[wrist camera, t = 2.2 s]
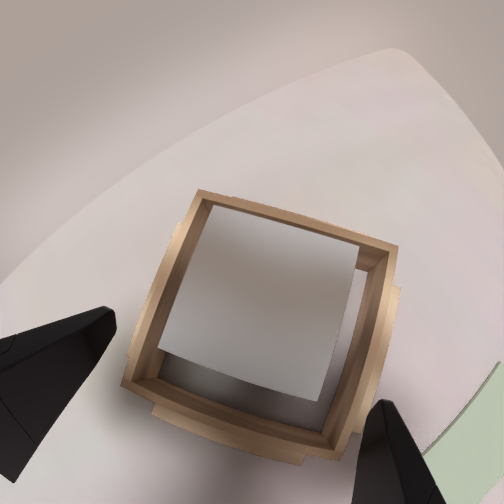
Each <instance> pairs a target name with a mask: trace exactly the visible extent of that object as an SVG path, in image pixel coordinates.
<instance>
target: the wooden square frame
mask: <svg viewBox="0 0 504 504" xmlns="http://www.w3.org/2000/svg"><path fill="white" fill-rule="evenodd" d="M214 205H216V206H220V207H224V208H228V209H232V210H235V211H239V212H243V213H246V214H250V215H254V216H257V217H261V218H265V219H268V220H272V221H275V222H279V223H283V224H286V225H290V226H293V227H297V228H300V229H303V230H307V231H310V232H314V233H317V234H321V235H324V236H327V237H331V238H334V239H337V240H341V241H344V242H347V243H350V244H354V245H357V246H359V251H358V256H357V261H356V265H355V268H357V269H360V270H363V271H367V272H368V275H367V280H366V285H365V289H364V294H363V298H362V302H361V307H360V311H359V315H358V319H357V323H356V327H355V330H354V334H353V338H352V342H351V345H350V349H349V352H348V356H347V359H346V362H345V366H344V369H343V372H342V375H341V379H340V382H339V385H338V388H337V391H336V394H335V397H334V400H333V403H332V405H331V408H330V411H329V414H328V417H327V419H326V422H325V425H324V427H323V430H322V433H319V432H315V431H310V430H306V429H302V428H298V427H294V426H290V425H286V424H283V423H279V422H275V421H272V420H268V419H265V418H262V417H258V416H255V415H252V414H249V413H246V412H243V411H240V410H237V409H234V408H231V407H228V406H225V405H222V404H219V403H217V402H214V401H211V400H209V399H206V398H203V397H201V396H198V395H196V394H193V393H191V392H188V391H186V390H183V389H181V388H179V387H176V386H174V385H172V384H169V383H167V382H165V381H163V380H160V379H158V378H157V377H158V374H159V371H160V368H161V365H162V362H163V360H164V357H165V354H166V351H164V350H162V349H160V348H158V345H159V342H160V339H161V336H162V334H163V331H164V328H165V325H166V323H167V320H168V317H169V315H170V312H171V309H172V307H173V304H174V301H175V299H176V296H177V293H178V291H179V288H180V286H181V283H182V281H183V278H184V276H185V273H186V270H187V268H188V265H189V263H190V260H191V258H192V256H193V253H194V251H195V248H196V246H197V243H198V241H199V238H200V236H201V234H202V231H203V229H204V227H205V224H206V222H207V219H208V217H209V215H210V212H211V210H212V208H213V206H214ZM397 253H398V246H397V245H393V244H390V243H387V242H384V241H381V240H378V239H375V238H372V237H369V235H366V234H363V233H360V232H357V231H354V230H350V229H347V228H344V227H340V226H337V225H334V224H331V223H327V222H324V221H320V220H317V219H314V218H310V217H307V216H303V215H300V214H296V213H293V212H289V211H285V210H282V209H278V208H275V207H271V206H267V205H263V204H260V203H256V202H252V201H248V200H244V199H241V198H237V197H228V196H224V195H220V194H216V193H212V192H208V191H204V190H200V189H198V191H197V193H196V195H195V197H194V199H193V201H192V203H191V206H190V208H189V210H188V212H187V214H186V216H185V219H184V221H183V223H180V222H179V223H178V225H177V227H176V229H175V231H174V234H173V236H172V238H171V241H170V243H169V245H168V247H167V250H166V252H165V255H164V257H163V259H162V262H161V264H160V266H159V269H158V271H157V274H156V276H155V279H154V281H153V284H152V286H151V289H150V291H149V294H148V296H147V299H146V301H145V304H144V307H143V309H142V312H141V315H140V317H139V320H138V323H137V325H136V328H135V331H134V334H133V336H132V339H131V342H130V345H129V348H128V351H127V354H126V356H127V357H129V361H128V364H127V367H126V370H125V373H124V376H123V379H122V382H121V385H120V386H122V387H124V388H126V389H128V390H130V391H132V392H134V393H136V394H137V395H139V396H141V397H144V398H146V399H148V400H150V401H152V402H154V403H155V405H154V408H153V411H152V414H151V415H153V416H155V417H157V418H160V419H162V420H164V421H166V422H168V423H171V424H173V425H175V426H177V427H180V428H182V429H185V430H187V431H189V432H192V433H194V434H197V435H199V436H202V437H205V438H207V439H210V440H213V441H215V442H218V443H221V444H224V445H227V446H230V447H233V448H236V449H239V450H242V451H245V452H249V453H252V454H255V455H259V456H262V457H266V458H270V459H273V460H277V461H281V462H285V463H290V464H294V465H298V466H301V465H302V462H303V460H304V457H305V455H311V456H316V457H321V458H326V459H331V460H337V461H340V460H341V457H342V455H343V452H344V450H345V448H346V445H347V443H348V440H349V438H350V435H351V432H353V433H358V434H361V433H362V430H363V427H364V425H365V422H366V418H367V415H368V413H369V411H370V408H371V405H372V402H373V399H374V395H375V392H376V389H377V386H378V383H379V379H380V376H381V372H382V369H383V365H384V362H385V358H386V354H387V350H388V346H389V342H390V338H391V334H392V329H393V325H394V320H395V316H396V311H397V306H398V301H399V295H400V290H401V288H400V287H397V286H394V285H392V284H393V278H394V272H395V266H396V260H397Z"/></svg>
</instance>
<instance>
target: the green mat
mask: <svg viewBox="0 0 504 504" xmlns="http://www.w3.org/2000/svg"><path fill="white" fill-rule="evenodd" d="M421 455H422V456H423V458H424V460H425V462H426V464H427V466H428V468H429V470H430V472H431V474H432V476H433V478H434V480H435V482H436V485H437V486H438V488H439V490H440V492H441V494H442V496H443V498H444V499H445V501H446V503H447V504H478V503H479V502H480V501H481V500H482V499H483V498H484V497H485V496H486V495H487V494H488V493H489V491H490V490H491V489H492V488H493V487H494V486H495V484H496V483H497V482H498V481H499V480H500V478H501V477H502V476H503V475H504V365H503V364H502V362H498V363H497V365H496V366H495V368H494V369H493V371H492V372H491V373H490V375H489V376H488V378H487V379H486V381H485V382H484V383H483V385H482V386H481V387H480V389H479V390H478V391H477V393H476V394H475V395H474V397H473V398H472V399H471V401H470V402H469V403H468V404H467V405H466V407H465V408H464V409H463V410H462V412H461V413H460V414H459V415H458V416H457V417H456V419H455V420H454V421H453V422H452V423H451V424H450V425H449V427H448V428H447V429H446V430H445V431H444V432H443V433H442V434H441V435H440V436H439V437H438V438H437V439H436V440H435V441H434V442H433V444H432V445H431V446H430V447H429V448H428V449H427V450H425V451H424V452H423V453H422V454H421Z"/></svg>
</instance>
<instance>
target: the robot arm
mask: <svg viewBox="0 0 504 504" xmlns="http://www.w3.org/2000/svg"><path fill="white" fill-rule="evenodd" d="M116 330H117V326H116V318H115V312H114V310H112V309H110V308H108V307H106V306H101V307H98V308H95V309H92V310H89V311H86V312H83V313H80V314H77V315H74V316H71V317H68V318H64V319H61V320H58V321H55V322H52V323H49V324H46V325H43V326H40V327H37V328H34V329H31V330H27V331H24V332H21V333H18V334H15V335H12V336H9V337H5V338H2V339H0V474H1V475H3V476H4V477H5V478H7V479H8V480H9V481H11V482H12V483H15V482H16V480H17V479H18V477H19V475H20V474H21V472H22V471H23V469H24V468H25V466H26V464H27V463H28V461H29V460H30V458H31V457H32V455H33V454H34V452H35V451H36V449H37V448H38V446H39V445H40V443H41V442H42V440H43V439H44V437H45V436H46V434H47V433H48V431H49V430H50V428H51V427H52V426H53V424H54V423H55V421H56V420H57V418H58V417H59V416H60V414H61V413H62V411H63V410H64V409H65V407H66V406H67V404H68V403H69V402H70V400H71V399H72V397H73V396H74V395H75V393H76V392H77V391H78V389H79V388H80V387H81V385H82V384H83V382H84V381H85V380H86V378H87V377H88V376H89V374H90V373H91V372H92V370H93V369H94V368H95V366H96V365H97V363H98V362H99V360H100V358H101V356H102V355H103V353H104V351H105V350H106V348H107V346H108V345H109V343H110V342H111V340H112V338H113V337H114V335H115V333H116ZM351 504H447V503H446V501H445V499H444V498H443V496H442V494H441V492H440V490H439V488H438V486H437V485H436V482H435V480H434V478H433V476H432V474H431V472H430V470H429V468H428V466H427V464H426V462H425V460H424V458H423V456H422V455H421V453H420V451H419V449H418V447H417V445H416V443H415V441H414V439H413V438H412V436H411V434H410V432H409V430H408V428H407V427H406V425H405V423H404V421H403V419H402V417H401V416H400V414H399V412H398V410H397V408H396V407H395V405H394V403H393V402H392V401H390V400H385V399H381V400H379V401H378V402H377V403H376V404H375V406H374V407H373V408H372V409H371V411H370V412H369V413H368V415H367V418H366V422H365V427H364V432H363V437H362V442H361V446H360V451H359V455H358V461H357V468H356V476H355V483H354V490H353V496H352V502H351Z"/></svg>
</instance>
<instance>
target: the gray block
mask: <svg viewBox="0 0 504 504" xmlns="http://www.w3.org/2000/svg"><path fill="white" fill-rule="evenodd" d="M358 251H359V246H357V245H354V244H350V243H347V242H344V241H341V240H337V239H334V238H331V237H327V236H324V235H321V234H317V233H314V232H310V231H307V230H303V229H300V228H297V227H293V226H290V225H286V224H283V223H279V222H275V221H272V220H268V219H265V218H261V217H257V216H254V215H250V214H246V213H243V212H239V211H235V210H232V209H228V208H224V207H220V206H216V205H214V206H213V208H212V210H211V212H210V215H209V217H208V219H207V222H206V224H205V227H204V229H203V231H202V234H201V236H200V238H199V241H198V243H197V246H196V248H195V251H194V253H193V256H192V258H191V260H190V263H189V265H188V268H187V270H186V273H185V276H184V278H183V281H182V283H181V286H180V288H179V291H178V293H177V296H176V299H175V301H174V304H173V307H172V309H171V312H170V315H169V317H168V320H167V323H166V325H165V328H164V331H163V334H162V336H161V339H160V342H159V345H158V348H160V349H162V350H164V351H167V352H169V353H171V354H174V355H176V356H179V357H181V358H183V359H186V360H188V361H191V362H193V363H196V364H199V365H201V366H204V367H206V368H209V369H212V370H215V371H217V372H220V373H223V374H226V375H228V376H231V377H234V378H237V379H240V380H243V381H246V382H249V383H252V384H255V385H259V386H262V387H265V388H268V389H272V390H275V391H278V392H282V393H285V394H289V395H292V396H296V397H300V398H304V399H307V400H311V401H315V402H317V400H318V397H319V394H320V392H321V389H322V386H323V383H324V380H325V377H326V373H327V370H328V367H329V364H330V361H331V357H332V354H333V351H334V347H335V344H336V341H337V337H338V334H339V330H340V326H341V323H342V319H343V315H344V311H345V308H346V304H347V300H348V296H349V292H350V287H351V283H352V279H353V274H354V270H355V265H356V261H357V256H358Z"/></svg>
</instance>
